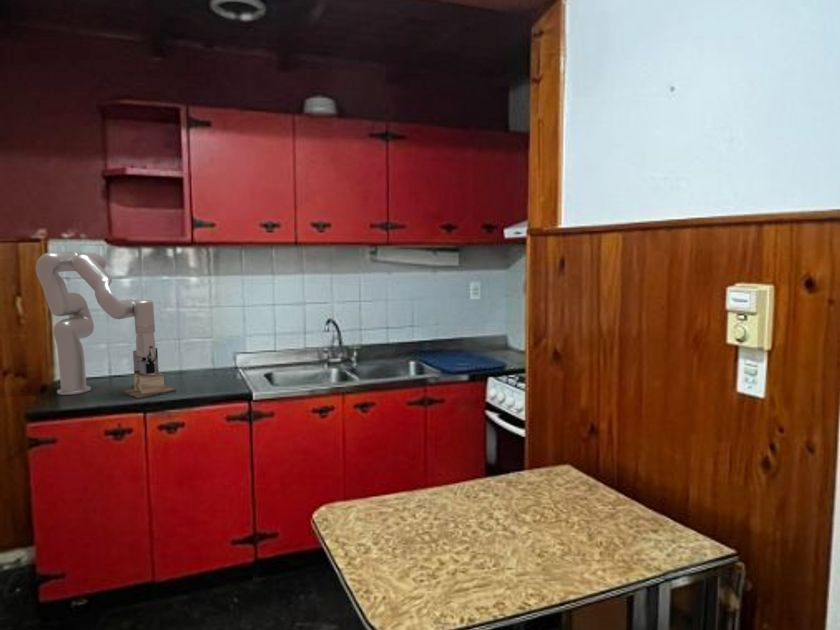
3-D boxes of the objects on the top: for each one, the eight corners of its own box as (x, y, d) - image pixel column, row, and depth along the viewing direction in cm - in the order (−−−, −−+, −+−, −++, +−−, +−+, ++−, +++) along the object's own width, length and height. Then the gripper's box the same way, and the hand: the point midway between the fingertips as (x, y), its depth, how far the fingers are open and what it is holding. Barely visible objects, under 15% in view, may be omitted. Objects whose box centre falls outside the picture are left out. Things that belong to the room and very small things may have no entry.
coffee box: (147, 387, 266) (144, 351, 264) (134, 386, 268) (131, 350, 266) (160, 382, 275) (157, 347, 273) (147, 382, 276) (145, 347, 275)
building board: (123, 392, 257) (121, 374, 256) (161, 386, 268) (160, 368, 267) (136, 399, 245) (135, 379, 244) (176, 391, 256) (174, 373, 255)
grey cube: (139, 372, 256) (139, 361, 255) (151, 371, 259) (151, 359, 258) (144, 374, 252) (143, 362, 251) (156, 372, 255) (155, 361, 255)
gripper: (128, 328, 257) (131, 370, 259) (143, 332, 245) (146, 376, 247) (146, 326, 262) (149, 368, 264) (162, 330, 250) (165, 373, 252)
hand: (148, 371), depth 255 cm, fingers closed on grey cube, 5 cm apart
